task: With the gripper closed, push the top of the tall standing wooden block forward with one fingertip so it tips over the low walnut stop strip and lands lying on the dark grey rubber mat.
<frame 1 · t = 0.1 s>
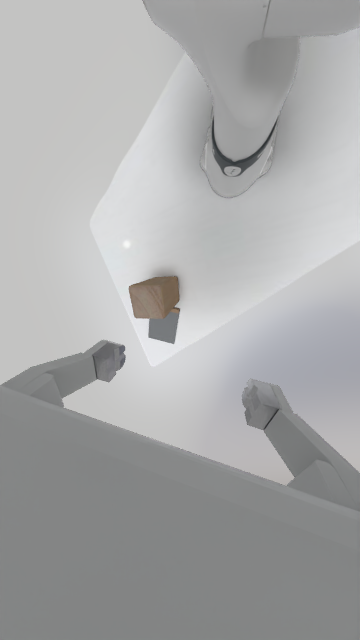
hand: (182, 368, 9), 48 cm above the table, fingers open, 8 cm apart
mat: (163, 323, 64), on the table
wooden block: (167, 289, 57), on the table
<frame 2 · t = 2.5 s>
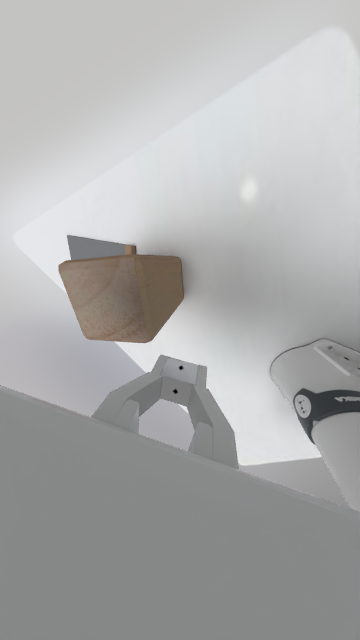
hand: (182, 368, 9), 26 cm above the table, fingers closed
mat: (103, 269, 36), on the table
wooden block: (162, 280, 34), on the table
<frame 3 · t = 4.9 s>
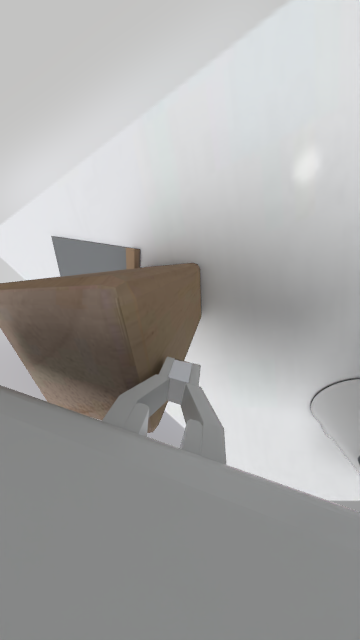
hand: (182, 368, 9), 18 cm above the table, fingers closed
mat: (98, 278, 28), on the table
wooden block: (174, 293, 26), on the table, touching gripper
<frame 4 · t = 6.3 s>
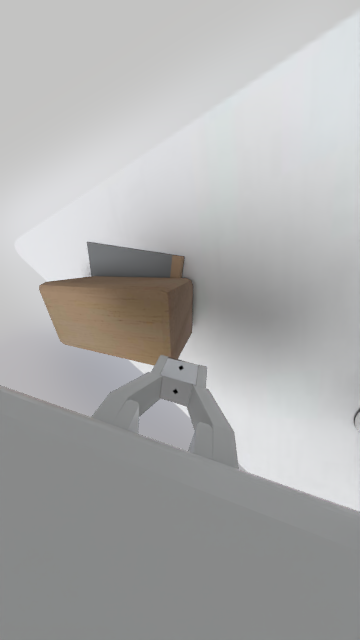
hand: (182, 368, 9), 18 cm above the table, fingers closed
mat: (134, 286, 27), on the table
wooden block: (186, 319, 19), point 7 cm above the table, touching mat
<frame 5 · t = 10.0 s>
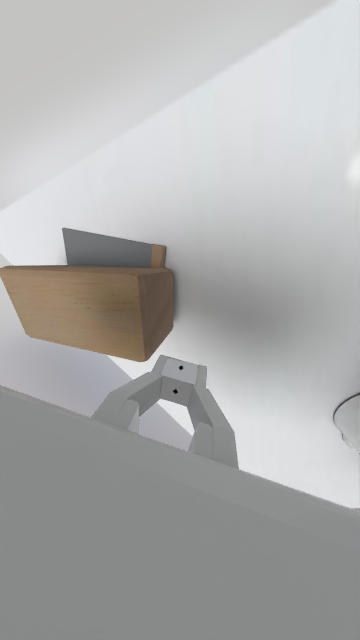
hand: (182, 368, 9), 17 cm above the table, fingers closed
mat: (114, 278, 25), on the table
wooden block: (164, 311, 18), point 7 cm above the table, touching mat
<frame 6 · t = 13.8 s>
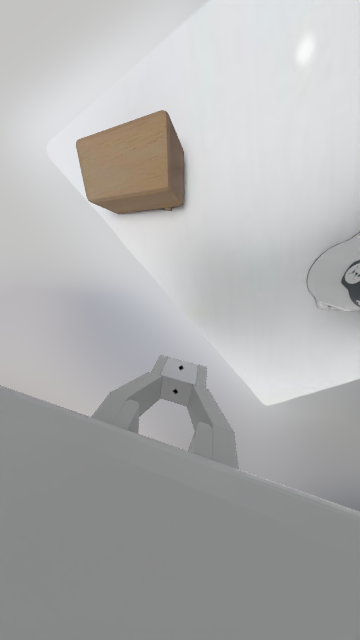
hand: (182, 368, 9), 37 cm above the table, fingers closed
wooden block: (178, 166, 28), point 7 cm above the table, touching mat
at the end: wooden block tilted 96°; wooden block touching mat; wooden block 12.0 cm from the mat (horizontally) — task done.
